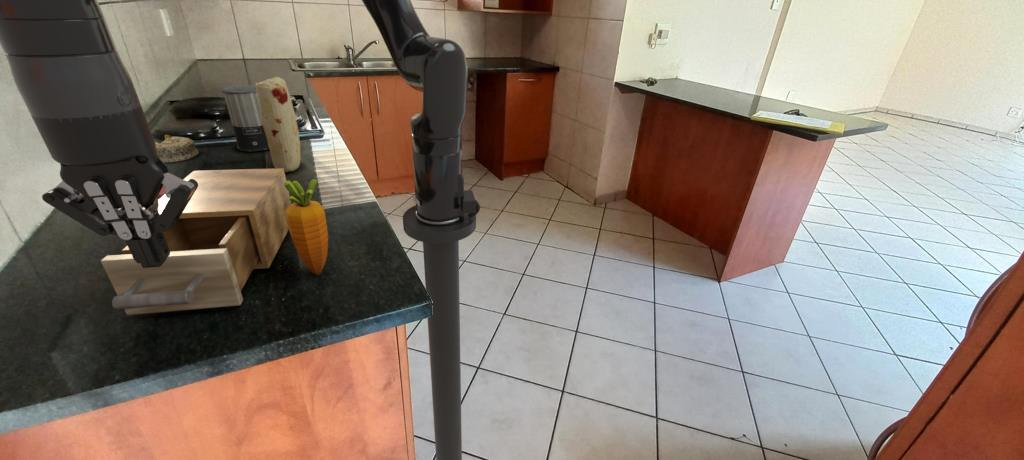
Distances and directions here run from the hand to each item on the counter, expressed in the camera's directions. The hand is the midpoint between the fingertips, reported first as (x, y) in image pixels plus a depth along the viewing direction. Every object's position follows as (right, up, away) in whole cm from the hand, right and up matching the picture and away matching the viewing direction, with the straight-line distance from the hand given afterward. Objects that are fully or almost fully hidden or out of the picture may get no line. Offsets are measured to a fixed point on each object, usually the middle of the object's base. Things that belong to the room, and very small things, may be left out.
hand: (155, 263), depth 47 cm
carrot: (+11, -3, +15) cm, 19 cm away
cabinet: (-5, +2, +21) cm, 22 cm away
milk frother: (-27, +27, +67) cm, 77 cm away
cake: (-42, +21, +55) cm, 72 cm away
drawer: (-2, -4, +10) cm, 11 cm away
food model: (-12, +18, +52) cm, 56 cm away
